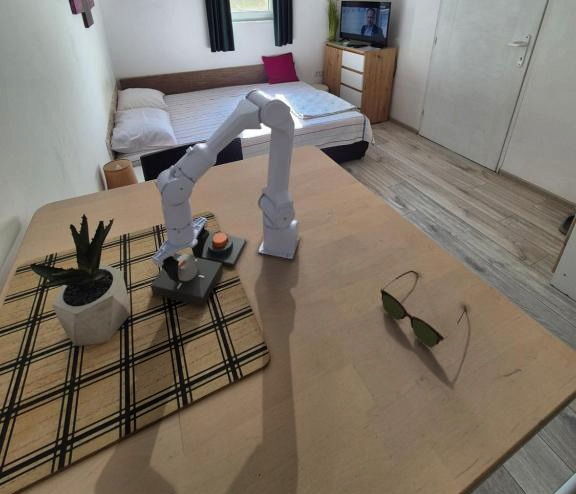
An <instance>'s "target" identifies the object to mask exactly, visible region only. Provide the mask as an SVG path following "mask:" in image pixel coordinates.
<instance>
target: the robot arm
mask: <svg viewBox="0 0 576 494" xmlns="http://www.w3.org/2000/svg"><path fill="white" fill-rule="evenodd" d="M261 124H262V125H263V126H265V127H266V128H269V129H270V140H269V154H268V164H267V165H268V167H267V178H266V179H267V180H266V185H264V186H263V187H261V193H260V195H259V197H258V200H257V206H258V208H259V209H260V210H261V211H262V240H261V241H262V242H261V244H260V245H259V248H258V251H257V252H258V253H259V254H263V255H268V256H272V257H273V256H274V257H278V258H283V259H288V260H293V259H294V256H295V254H296V250H297V247H298V244H299V241H300V238H299V227H300V225H299V220H296V219H295V217H296V210H295V209H294V199H293V197H292V195H291V193H290V190H289V186H290V175H291V165H292V157H293V146H294V137H295V127H296V126H295V125H296V124H295V120H294V119H293V117H292V114H291V107H290V106H289V105H288V104H287V103H285V102H284V101H283V100H282V99H279V98H276V97H275V96H273V95H271V94H270V93H268V92H267V91H265V90H263V88H253V89H251V90H250V91H248V92H247V94H246V95H245V96H244V97H243V98H241V99H240V100H239V101H238V103H237V104H236V107H235V109H234V110H233V111H232V112H231V114H229V116H228V117H227V118H226V119H225V120H224V121H223V122H222V124H221V125H220V126H219V127H218V128H217V129H216V130H215V131H214V132H213V133H212V134H211V136H210V137H209V138H208V139H207V140H206V141H205V142H199V143H195V144H194V145H193V146H189V147H187V149H186V150H185V152H186V153H184V155H183V156H182V157H181V158H180V159H179V160H178V161H177V162H176V163H175V164H174V165H171V166H170V167H169V168H167V169H165V170H163V171H161V172H160V173H159V174H158V176H157V177H156V181H155V182H154V184H155V186H156V188H157V190H158V192H159V194H160V199H161V201H160V203H161V209H162V216H163V220H164V226H165V231H166V236H167V237H166V238H165V240H164V242H163V243H162V244H161V245H160V247H159V248H158V250H156V253H154V255H152V256H151V259H152V263H153V264H152V265H155V266H157V267H158V268H162V269H164V270H165V271H166V272H167V274H168V276H169V278H170V279H171V280H173V281H175V282H177V281H178V279H179V276H178V264H179V262H180V261H178V260H176V259H174V257H172V256H173V255H174V254H175V253H177V254H178V253H180V252H181V251H183V250H185V249H187V248H190V249H191V250H192V255H193V256H196V257H198V258H200V259H201V258H202V255H203V250H204V246H205V243H206V240H207V238H208V236H209V232H210V231H209V230H208V229H206V228H207V227H208V226H209V224H208V223H209V222H208V219H207V218H205V217H202V216H200V217H198V218H197V219H196V220H194V219H193V218H194V217H193V211H192V204H191V200H190V198H191V196H192V193H193V188H194V187H195V185H196V183H197V182H198V181H199V180H201V179H202V177H203V176H204V175H206V174H207V172H209V170H210V169H211V168H212V167H213V166H214V165H216V163H217V157H218V154H219V153H220V152H221V151H222V150H223V149H225V148H226V147H227V146H228V145H229V144H230V143H231V142H232V141H234V140H235V139H236V138H237V137H238V136H240V135H241V134H242V133H243V132H244V131H246V130H262V129H263V127H262V125H261Z"/></svg>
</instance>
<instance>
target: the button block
mask: <svg viewBox="0 0 576 494" xmlns="http://www.w3.org/2000/svg"><path fill="white" fill-rule="evenodd" d="M222 233H223V232H222ZM216 234H218V233H217V232H211V231H209V236H208V238H207V240H206V243H205V246H204V250H203V255H202V258H201V259H205V260H210V261H215V262H219V263H222V266H225V267H231V268H235V265H236V263H237V261H238V259H239V257H240V255H241V254H242V251H243V249H244V247H245V245H246V243H247V238H243V237H237V236H233V235H231V234H229V233H226V232H224V233H223V234H225V235H226V236H227V244H226V245H225V246H224V247H220V248H217V247H215V246H214V245H213V237H214V236H215V235H216ZM193 256H194V255H193ZM194 257H196V256H194ZM196 258H198V257H196Z"/></svg>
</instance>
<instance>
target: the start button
mask: <svg viewBox="0 0 576 494" xmlns="http://www.w3.org/2000/svg"><path fill="white" fill-rule="evenodd" d="M225 234H226V233H225ZM225 234H223V232H220V233H217V234H216V235H215V236H214V237H213V245H214V246H215V247H217V248H220V247H224V246H225V245H226V244H227V236H226V235H225Z"/></svg>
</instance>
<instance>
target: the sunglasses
mask: <svg viewBox="0 0 576 494" xmlns="http://www.w3.org/2000/svg"><path fill="white" fill-rule="evenodd" d="M411 273H413V274H415V275H416V276H418V275H419V273H417V272H416V271H414V270H409V271H406V272H404V273H402V274H400V275H399V276H397V277H395V278H394V279H392V280H391V281H390V282H388V283H387V284H386V285H384V287H382V288H381V289H380V294H381V299H380V300H381V302H382V303H381V304H382V308H383V310H384V311H385V312H386V313H387V314H388V315H389V316H390V317H391V318H392V319H394V320H396V321H397V320H398V321H400V320H405V318H406V317H407V318H408V319H409V320H410V326H411V328H412V331H413V334H414V336H415V337H416V338H417V339H418V340H419V341H420V342H421V343H422V344H423V345H425V346H426V347H428V348H434V347H435V346H438V345H439V343H440V342H444V340H445V339H446V338H448V336H449V335H451V333H452V332H453V331H454V330H455V329H456V327H457V326H458V325H459V323H460V321H461V320H462V318H463V316H464V314H465V312H466V309H467V306H466V305H463V308H464V309H463V312H462V314H461V315H460V318H459V319H458V321H457V322H456V324H455V326H454V327H453V328H452V329H451V331H449V332H448V333H447V334H446V335H445V336H443V335H442V334H441V333H440V332H439V331H437V330H436V329H435V327H433V326H431V324H429V323H428V322H426V321H425V320H423V319H421V318H419V317H418V316H413V315H411V314H410V313H409V312H408V311H407V309H406V307H404V306H403V304H402V303H401V302H400V301H399V300H398V299H397V298H396V297H395V296H393V295H392V294H390V293H389V292H387V290H385V289H386V288H387V287H388V286H389V285H390V284H392V283H393V282H394V281H396V280H398V279H400V278H402V277H403V276H405V275H408V274H411Z"/></svg>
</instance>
